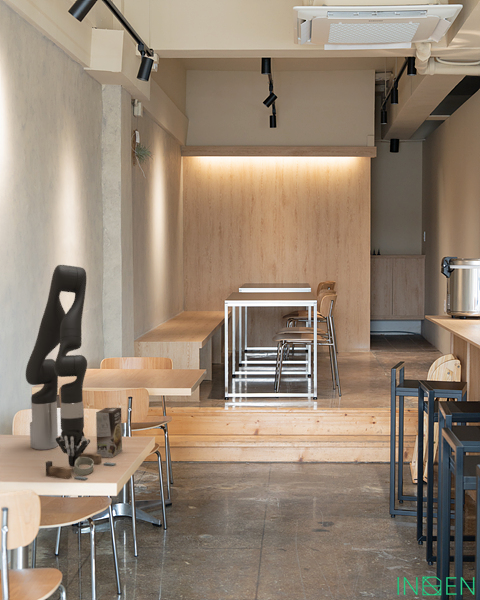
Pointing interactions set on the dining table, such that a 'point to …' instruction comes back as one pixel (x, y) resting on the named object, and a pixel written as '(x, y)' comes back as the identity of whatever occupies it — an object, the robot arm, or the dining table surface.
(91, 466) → the wristwatch
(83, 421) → the robot arm
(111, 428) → the coffee box
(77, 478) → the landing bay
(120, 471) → the dining table surface
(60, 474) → the corridor
